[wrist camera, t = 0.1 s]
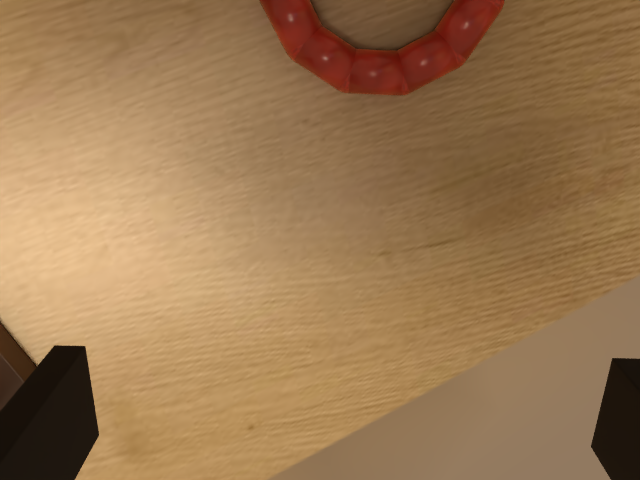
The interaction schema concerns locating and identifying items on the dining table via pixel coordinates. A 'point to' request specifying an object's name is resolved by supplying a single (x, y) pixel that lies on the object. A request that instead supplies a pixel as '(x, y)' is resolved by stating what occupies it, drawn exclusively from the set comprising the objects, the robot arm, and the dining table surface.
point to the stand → (12, 367)
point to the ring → (380, 65)
